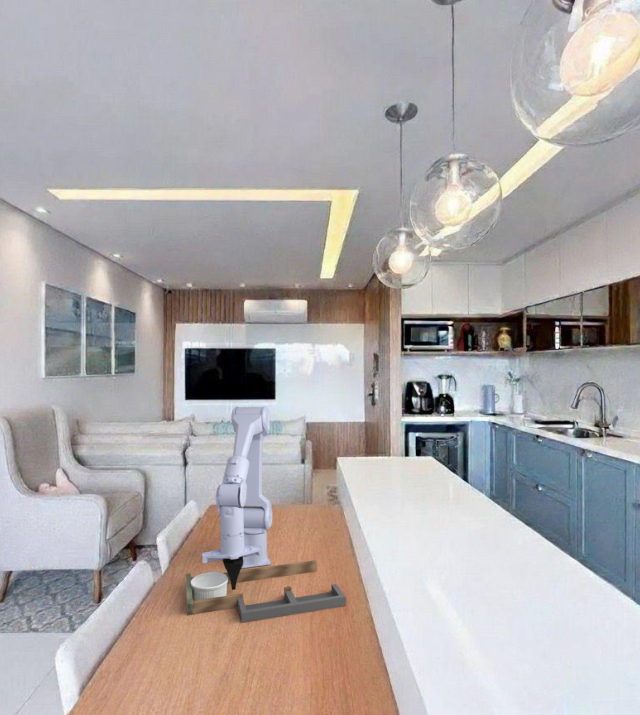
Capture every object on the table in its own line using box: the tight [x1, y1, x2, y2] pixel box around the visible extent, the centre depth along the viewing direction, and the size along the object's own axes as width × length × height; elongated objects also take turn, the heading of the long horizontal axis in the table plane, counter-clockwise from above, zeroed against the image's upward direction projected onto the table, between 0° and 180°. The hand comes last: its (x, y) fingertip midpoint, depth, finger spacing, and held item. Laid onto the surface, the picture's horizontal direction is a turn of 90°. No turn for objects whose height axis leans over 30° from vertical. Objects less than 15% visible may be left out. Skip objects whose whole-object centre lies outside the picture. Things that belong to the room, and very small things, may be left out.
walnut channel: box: [185, 559, 318, 616], centre depth 123 cm, size 34×14×4 cm, turn 106°
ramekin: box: [191, 571, 228, 601], centre depth 120 cm, size 9×9×4 cm
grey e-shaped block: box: [237, 583, 347, 624], centre depth 115 cm, size 24×7×2 cm, turn 106°
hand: (233, 588), depth 122 cm, fingers closed
